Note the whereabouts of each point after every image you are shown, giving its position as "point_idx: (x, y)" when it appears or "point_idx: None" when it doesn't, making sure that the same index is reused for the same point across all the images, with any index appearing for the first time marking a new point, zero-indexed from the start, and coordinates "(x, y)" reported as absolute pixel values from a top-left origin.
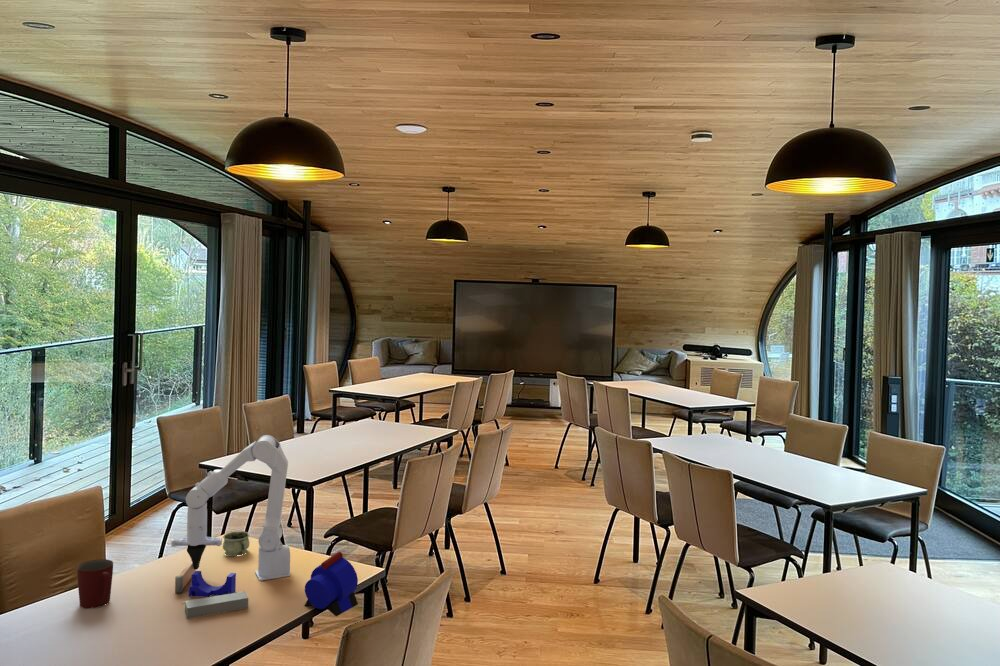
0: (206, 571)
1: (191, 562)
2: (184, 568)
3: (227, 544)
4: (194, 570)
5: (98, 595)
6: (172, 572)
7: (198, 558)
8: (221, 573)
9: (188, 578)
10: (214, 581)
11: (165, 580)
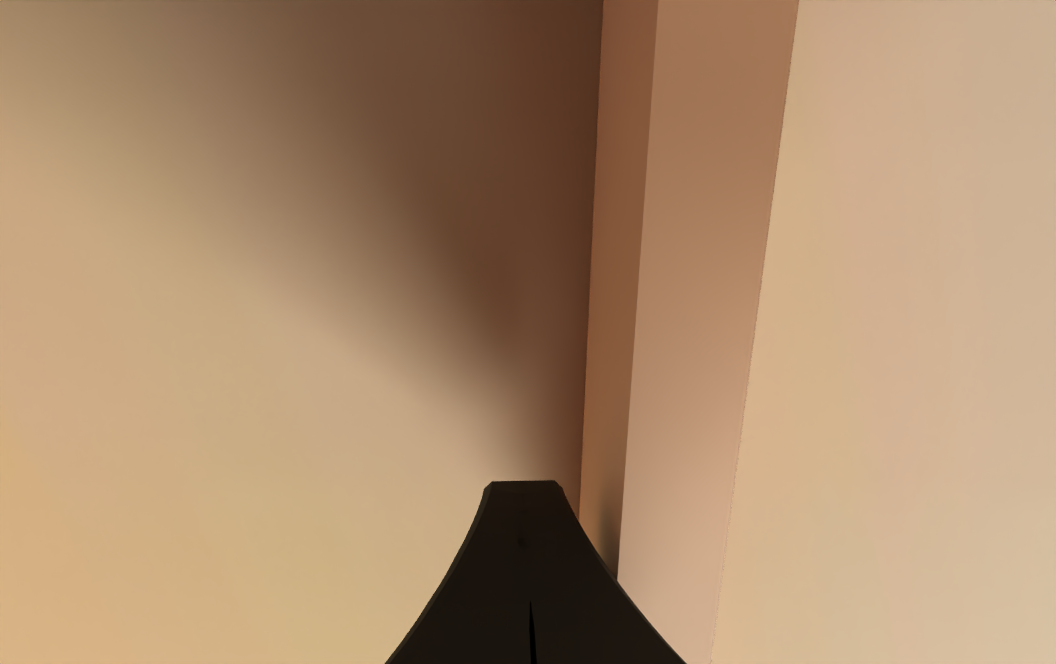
0: None
1: None
2: (763, 242)
3: None
4: None
5: None
6: (945, 609)
7: (418, 651)
8: (133, 565)
9: (601, 192)
10: (94, 219)
11: (1034, 296)
